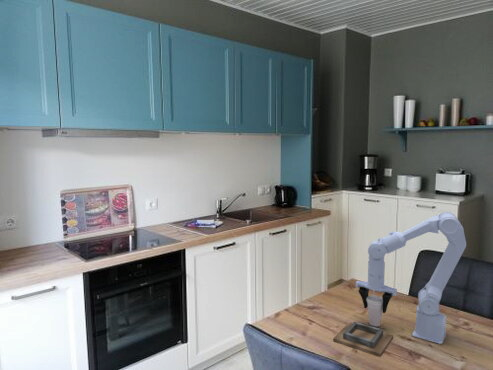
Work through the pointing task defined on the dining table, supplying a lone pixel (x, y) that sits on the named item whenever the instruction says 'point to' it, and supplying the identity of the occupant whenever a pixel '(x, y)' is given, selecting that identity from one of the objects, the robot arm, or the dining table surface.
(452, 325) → the dining table surface
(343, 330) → the bottle stand
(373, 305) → the smoothie
